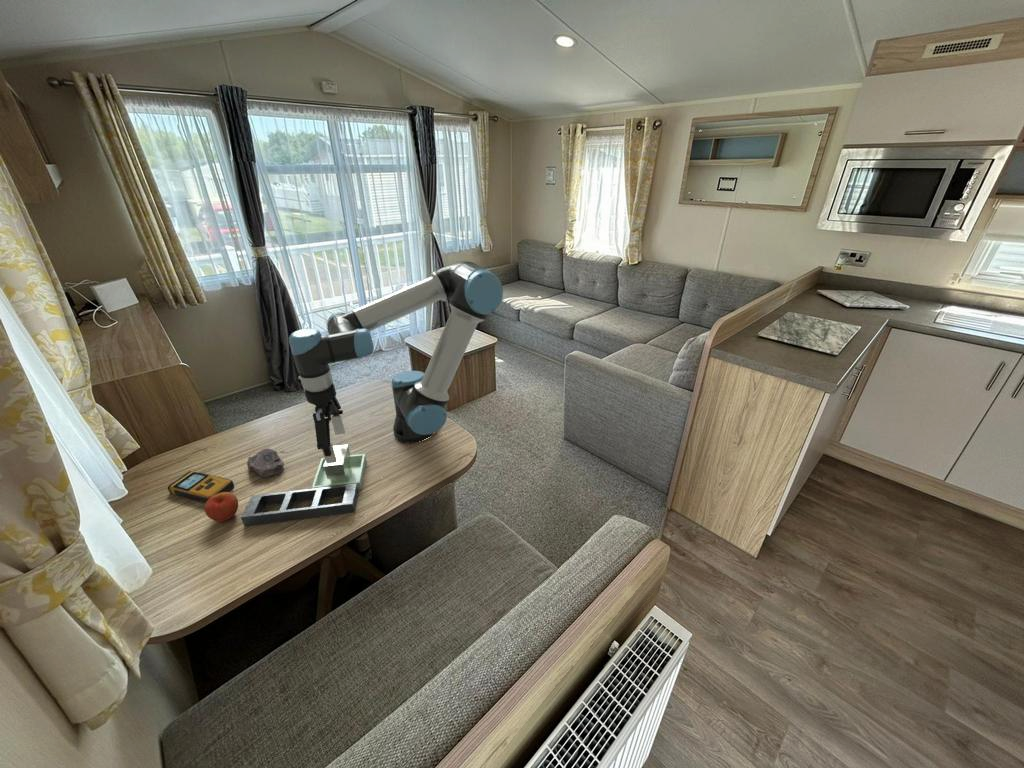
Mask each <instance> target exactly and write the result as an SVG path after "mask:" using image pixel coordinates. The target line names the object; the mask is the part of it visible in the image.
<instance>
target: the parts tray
mask: <svg viewBox="0 0 1024 768" xmlns="http://www.w3.org/2000/svg"><path fill="white" fill-rule="evenodd" d="M350 456H351V458H350V465H351V469H352V470H351V474H350V479H349V481H343V482H334V483H331V481H330V479H327V476H326V473H325V469H324V464H325V458H324V457H323V458H321V459H320V462H319V465H318V468H317V471H316V472H315V473H316V474H315V477H314V480H313V483H312V486H311V489H312V488H321V487H330V486H339V485H347V484H356V483H357V487H358V491H361V490H362V486H363V481H364V476H365V472H366V471H365V470H366V465H367V457H366V454H365V453H362V454H360V453H359V454H352V455H351V454H350Z"/></svg>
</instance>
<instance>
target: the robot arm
mask: <svg viewBox="0 0 1024 768" xmlns="http://www.w3.org/2000/svg"><path fill="white" fill-rule="evenodd" d="M503 296H504V289H503V286H502V282H501V281H500V279H499V277H498V276H497V275H496V274H494V273H493V272H492V271H490V270H489V269H487V268H484V267H482V266H480V265H478V264H476V263H475V262H473V261H467V260H464V261H457V262H454V263H451V264H448V265H446V266H443V267H441V268H439V269H436V270H435V271H434V270H433V271H432V272H430V274H429V276H428V277H427V278H424V279H422V280H420V281H417V282H416V283H413V284H411V285H408V286H406V287H403V288H402V289H399V290H397V291H395V292H392V293H390V294H388V295H385V296H383V297H381V298H378V299H376V300H374V301H372V302H369V303H367V304H364V305H362V306H360V307H357V308H355V309H353V310H350V311H348V312H342V311H338V312H334V313H332V314H331V315H330V316H329V317H328V319H327V320H326V322H327V324H326V326H327V333H328V334H325V335H322V334H321V331H320V330H319V329H317V328H301V329H298V330H295V331H293V332H292V333H290V335H289V337H288V342H289V347H290V350H291V355H292V358H293V360H294V364H295V367H296V370H297V372H298V375H299V376H298V380H300V381H301V386H302V388H303V392H304V395H305V399H306V401H307V402H308V404H311V405H314V411H315V412H313V413H312V418H313V421H314V429H315V438H316V444H317V445H316V448H317V450H322V454H323V456H324V457H323V458H325V461H326V464H330V463H337V459H336V456H335V452H334V449H333V446H334V445H333V443H332V442H331V430H330V429H331V428H330V427H331V425H330V422H331V424H332V427H333V431H334V434H335V435H343V434H344V435H345V434H346V431H345V427H344V424H343V420H342V415H343V414H344V410H342V409H341V408H342V406H341V404H340V403H339V401H338V398H337V397H336V396H337V391H336V387H335V384H334V379H333V375H332V373H331V372H332V371H331V368H330V364H335V363H340V362H344V361H345V362H346V361H350V360H351V361H352V360H356V359H362V358H364V357H369V356H371V355H373V353H374V351H375V350H374V343H373V338H372V335H371V333H370V332H371V331H374V330H376V329H379V328H381V327H382V326H385V325H387V324H389V323H391V322H394V321H396V320H398V319H401V318H404V317H405V316H408V315H409V314H411V313H414V312H416V311H419V310H421V309H423V308H426V307H427V306H430V305H431V304H434V303H437V302H438V301H442V302H447V301H449V300H450V301H449V303H448V305H449V307H450V314H449V316H448V318H447V321H446V323H445V325H444V327H443V330H442V332H441V334H440V338H439V339H438V342H437V344H436V347H435V348H434V350H433V352H432V356H431V358H430V360H429V362H428V365H427V367H426V370H425V371H424V372H423V371H420V370H407V371H402V372H399V373H397V374H396V375H395V376H393V377H392V378H391V388H392V394H393V396H392V397H393V401H394V409H395V414H396V415H395V419H394V422H393V423H394V424H393V428H392V429H393V435H394V437H395V439H397V440H398V441H400V442H401V443H405V442H409V443H408V444H412V443H411V442H418V443H420V442H419V441H422V440H424V439H426V438H428V437H430V436H431V435H432V434H433V433H434V432H435V433H437V432H439V431H440V430H441V429H442V428H443V427H444V426H445V424H446V422H447V418H448V417H447V411H446V407H447V404H448V402H449V400H450V396H449V393H448V390H449V387H450V386H451V384H452V383H453V382H452V381H453V380H454V377H455V375H456V372H457V370H458V368H459V366H460V364H461V361H462V360H463V357H464V355H465V353H466V351H467V348H468V346H469V344H470V341H471V339H472V337H473V335H474V333H475V331H476V328H477V326H478V324H479V323H482V322H485V321H486V318H487V316H488V315H489V314H492V313H493V312H495V311H496V310H497V309H499V306H500V305H501V302H503V301H502V300H503ZM422 442H423V441H422Z"/></svg>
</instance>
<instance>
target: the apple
mask: <svg viewBox="0 0 1024 768" xmlns="http://www.w3.org/2000/svg"><path fill="white" fill-rule="evenodd" d="M238 500H239V499H238V497H237V496H236V495H235V494H234V493H232V492H231V491H229V492H222V493H218V494H216V495H214V496H212V497H211V498H210V499H209V500H208V501H207V502H206V503H205V504H204V509H203V510H204V513H205V515H206V516H207V517H208V518H209V519H211V520H212V521H215V522H224V521H227V520H229V519H231V518H233V517H234V516H235V515H236V513H237V512H238V508H239V501H238Z"/></svg>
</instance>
